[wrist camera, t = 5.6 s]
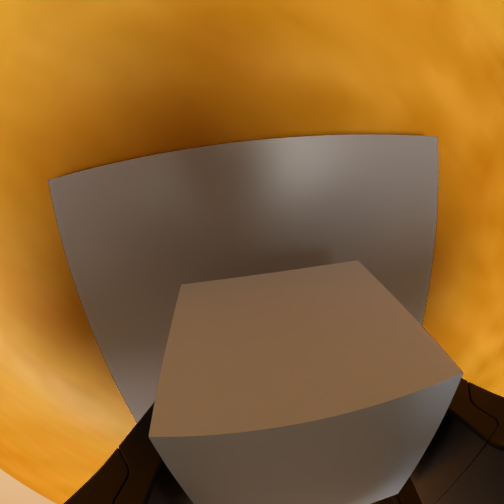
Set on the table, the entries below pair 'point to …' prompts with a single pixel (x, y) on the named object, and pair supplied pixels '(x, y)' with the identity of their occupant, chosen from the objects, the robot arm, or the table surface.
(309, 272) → the slate block
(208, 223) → the baseplate
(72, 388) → the table surface
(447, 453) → the robot arm
